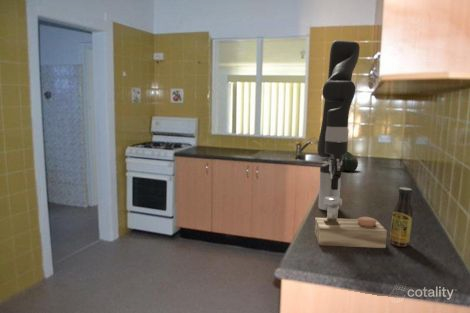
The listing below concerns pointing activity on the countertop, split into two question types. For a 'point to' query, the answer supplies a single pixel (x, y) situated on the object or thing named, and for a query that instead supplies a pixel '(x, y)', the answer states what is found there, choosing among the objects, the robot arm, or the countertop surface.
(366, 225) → the terracotta peg
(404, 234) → the sauce bottle
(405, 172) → the countertop surface
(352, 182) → the countertop surface
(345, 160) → the squash
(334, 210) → the grey peg
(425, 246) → the countertop surface
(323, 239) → the beech block
